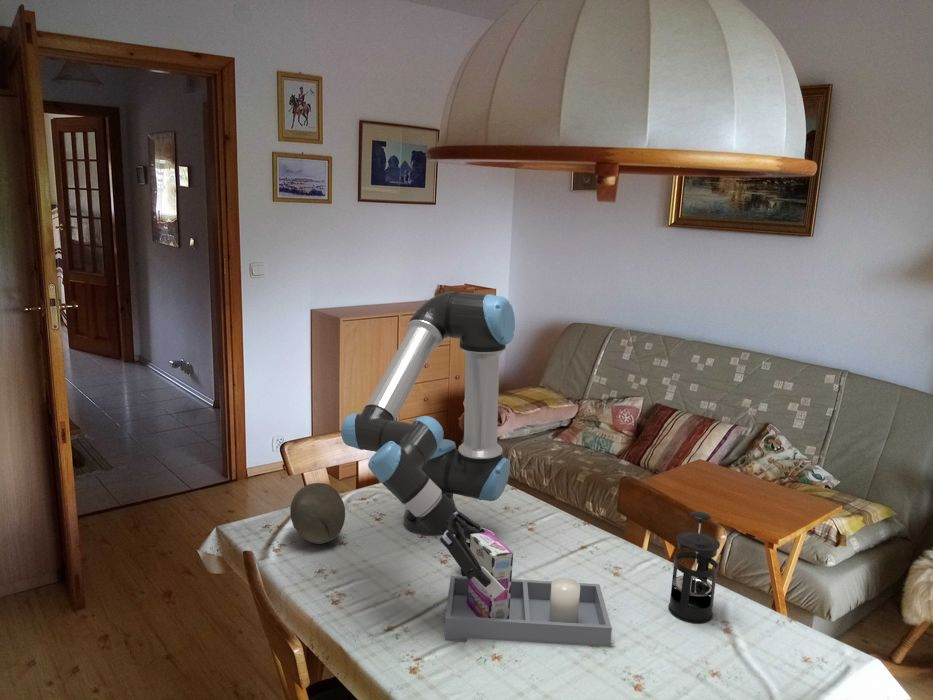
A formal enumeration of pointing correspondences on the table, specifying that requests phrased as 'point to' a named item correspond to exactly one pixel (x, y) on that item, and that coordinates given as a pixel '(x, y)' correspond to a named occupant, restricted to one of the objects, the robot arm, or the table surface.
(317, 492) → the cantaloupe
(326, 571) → the table surface
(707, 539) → the french press
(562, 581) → the cream cylinder
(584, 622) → the grey divided tray
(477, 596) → the candy bar box
